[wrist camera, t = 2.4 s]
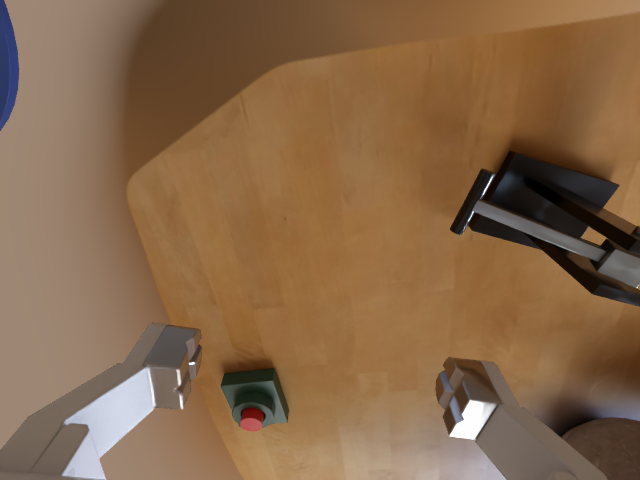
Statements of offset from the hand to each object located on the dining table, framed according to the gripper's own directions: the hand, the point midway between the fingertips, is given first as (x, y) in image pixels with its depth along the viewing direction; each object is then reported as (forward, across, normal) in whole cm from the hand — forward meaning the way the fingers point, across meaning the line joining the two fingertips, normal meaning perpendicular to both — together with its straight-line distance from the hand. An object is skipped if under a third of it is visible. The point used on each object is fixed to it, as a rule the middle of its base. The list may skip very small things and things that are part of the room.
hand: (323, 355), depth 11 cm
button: (+23, +5, +39) cm, 46 cm away
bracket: (+27, -24, +2) cm, 36 cm away
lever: (+18, -20, +2) cm, 27 cm away
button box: (+26, +5, +39) cm, 48 cm away
